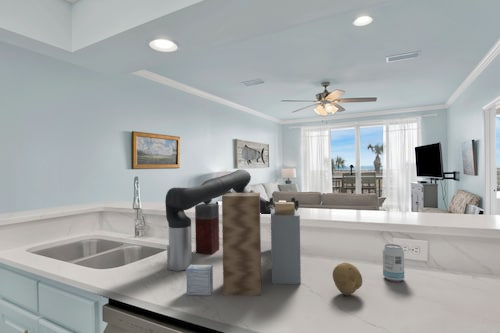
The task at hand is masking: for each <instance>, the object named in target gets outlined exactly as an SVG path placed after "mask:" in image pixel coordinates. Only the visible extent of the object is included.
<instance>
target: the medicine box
mask: <svg viewBox="0 0 500 333" xmlns="http://www.w3.org/2000/svg"><path fill="white" fill-rule="evenodd" d="M185 271H186V272H185V273H186V274H185V275H186V296H211V294H212V293H213V290H214V277H213V276H214V274H213V273H214V272H213V271H214V270H213V265H212V264H192V265H190V266H189V267H188V268H187V269H186V270H185Z"/></svg>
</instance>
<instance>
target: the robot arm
mask: <svg viewBox="0 0 500 333" xmlns="http://www.w3.org/2000/svg"><path fill="white" fill-rule="evenodd" d="M251 179H252V176H251V174H250V172H249V171H247V170H245V169H237V170H235V171H233V172H230V173H228V174H224V175H221V176H217V177H214V178H211V179H207V180H205V181H204V182H203V183H202V184H200V185H198V186H194V187H172V188H170V189H168V190H167V192H166V194H165V195H166V196H165V199H164V200H165V202H164V203H165V214H166V215H165V217H166V218H165V219H166V220H167V223H168V245H167V246H166V259H167V260H166V262H167V264H166V266H167V268H166V270H170V271H175V272H176V271H177V272H178V271H179V272H181V271H186V269H187V268H188V267H189V266H190V265H193V263H192V262H193V261H192V260H193V258H192V255H193V254H192V219H191V218H190V216H188V215H187V214H186V213H185V211H187V210H190V209H192V208H195V206H196V205H199V204H203V203H204V201H208V200H211V199H212V200H213V199H216V198H219V197H222V196H223V195H225V194H226V193H229V191H231V190H233V191H234V193H250V192H249V191H248V190H247V189H246V187H247V186H248V185H249V184H250V183H251ZM275 202H277V201H276V200H274V197H273V196H272V197H270V198H269V200H267V199H265V198H263V197H261V196H260V213H261V214H271V209H275ZM286 202H294V204H295V210H296V211H297V212H298V210H299V207H300V205H299V200H296V198H295V197H293V196H291V199H290V200H288V201H287V200H286ZM261 214H260V215H261Z"/></svg>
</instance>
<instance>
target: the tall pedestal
mask: <svg viewBox="0 0 500 333" xmlns="http://www.w3.org/2000/svg"><path fill="white" fill-rule="evenodd" d="M260 197H261V193H260V192H249V193H237V192H227V193H225V194H224V195H222V196H221V211H222V212H221V221H222V222H221V223H222V277H223V278H222V284H223V285H222V288H223V290H222V292H223V294H222V295H223V296H259V297H260V296H261V291H262V257H261V256H262V254H261V253H262V249H261V248H262V247H261V245H262V244H261V242H262V241H261V214H260Z"/></svg>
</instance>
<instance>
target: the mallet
mask: <svg viewBox="0 0 500 333" xmlns="http://www.w3.org/2000/svg"><path fill="white" fill-rule="evenodd" d="M275 215H295V204H294V202H287V200H283V199H282V200H280V199H279V200H278V201H276V202H275Z"/></svg>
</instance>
